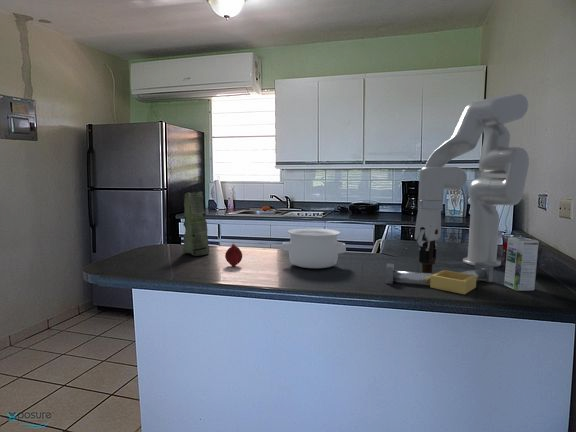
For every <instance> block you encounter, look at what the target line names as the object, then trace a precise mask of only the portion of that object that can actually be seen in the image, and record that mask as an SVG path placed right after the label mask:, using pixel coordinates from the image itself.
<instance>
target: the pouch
mask: <svg viewBox="0 0 576 432" xmlns="http://www.w3.org/2000/svg"><path fill="white" fill-rule="evenodd" d="M203 200H204V196H203V191H202V190H200V191H198V192H196V191H194V190H193V191H192V192H186V193H184V194H183V206H184V208H183V209H184V212H183V216H184V221H183V227H184V228H185V229H184V230H185V231H184V234H183V246H182V254H189V255H192V256H193V257H194V256H195V257H199V256H206V255H209V253H210V245H209V237H208V223H207V220H206V213H205V209H204V201H203Z"/></svg>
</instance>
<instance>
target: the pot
mask: <svg viewBox="0 0 576 432" xmlns="http://www.w3.org/2000/svg"><path fill="white" fill-rule="evenodd" d="M286 232H287V233H288V234H289V235H290V238H289V239H290V240H289V241H283V242H282V244H281V245H282V246H281V249H282V251H284V252H288V257H289V263H290V264H291V265H293V266H297V267H300V268H306V269H325V268H331V267H333V266H335V265H337V262H338V256H339V254H344V253H346V252H347V249H346V243H344V242H339V241H338V237H337V236H339V235H341V231H338V230H336V229H328V228H317V227H315V228H314V227H313V228H312V227H311V228H306V227H305V228H293V229H289V230H287V231H286Z"/></svg>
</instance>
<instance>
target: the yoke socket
mask: <svg viewBox="0 0 576 432" xmlns="http://www.w3.org/2000/svg"><path fill="white" fill-rule="evenodd" d="M459 272H460V271H459ZM459 272H458V271H454V270H453V271H452V270H448V269H447V270H446V269H443V270H440V271H438V272H435V273H432V274H433V275H431V282H430V284H429V285H430V286H429V287H430V288H431V289H436V290H440V291H445V292H446V291H447V292H452V293H455V294H456V293H457V294H461V295H466V294H467V293H469V292H471V291H472V290H474V289H475V288H477V280H476V278H477V276H476V275H471V274H465V273H459Z"/></svg>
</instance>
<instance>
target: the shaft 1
mask: <svg viewBox="0 0 576 432" xmlns="http://www.w3.org/2000/svg"><path fill="white" fill-rule="evenodd" d="M394 267H395V264H394V263H386V265H385V284H388V285H393V284H394V281H395V282H405V283H406V282H407V283H414V284H415V283H418V284H427V285H430V282H431V275H433V274H434V273H422V272H419V271H418V272H417V271H403V270H394Z"/></svg>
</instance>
